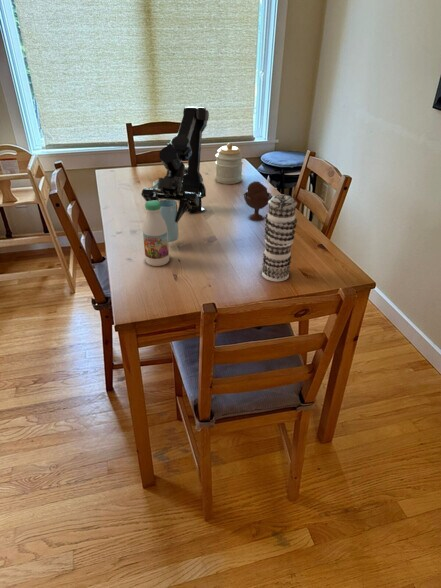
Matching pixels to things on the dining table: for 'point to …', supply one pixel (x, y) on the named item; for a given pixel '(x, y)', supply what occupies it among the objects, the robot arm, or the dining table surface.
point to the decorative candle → (279, 237)
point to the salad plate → (155, 186)
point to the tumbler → (170, 218)
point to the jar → (229, 164)
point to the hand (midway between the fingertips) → (166, 221)
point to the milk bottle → (155, 235)
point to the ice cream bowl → (256, 198)
